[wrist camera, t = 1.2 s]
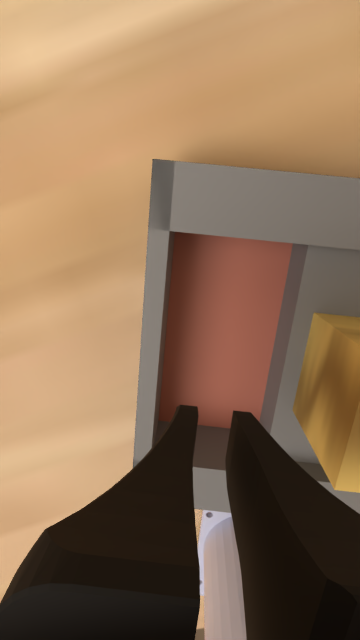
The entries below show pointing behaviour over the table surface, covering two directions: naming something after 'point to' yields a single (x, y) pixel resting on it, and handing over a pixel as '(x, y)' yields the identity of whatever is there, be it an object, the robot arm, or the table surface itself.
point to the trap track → (240, 304)
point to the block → (332, 397)
